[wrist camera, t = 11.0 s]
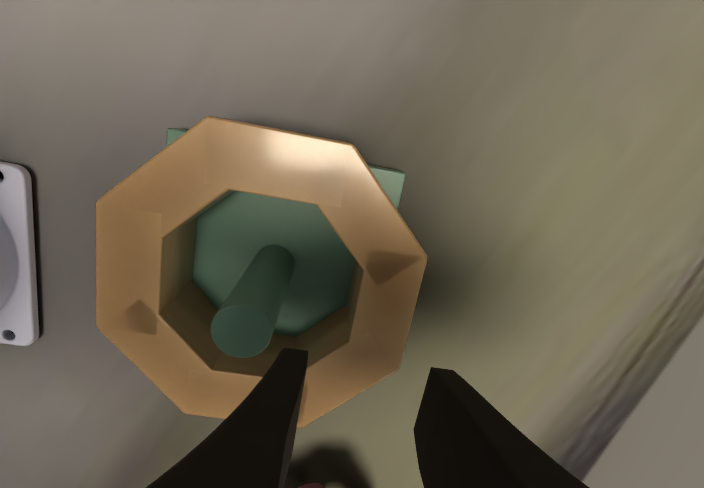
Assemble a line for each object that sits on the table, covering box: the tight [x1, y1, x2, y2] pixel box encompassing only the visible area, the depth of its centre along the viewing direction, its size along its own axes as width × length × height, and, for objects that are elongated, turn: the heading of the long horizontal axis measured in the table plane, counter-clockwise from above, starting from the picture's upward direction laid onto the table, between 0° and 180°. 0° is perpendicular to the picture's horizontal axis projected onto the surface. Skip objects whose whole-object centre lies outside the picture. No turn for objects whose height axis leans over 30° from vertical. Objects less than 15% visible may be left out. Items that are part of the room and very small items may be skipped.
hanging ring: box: [96, 116, 428, 428], centre depth 14 cm, size 10×10×3 cm
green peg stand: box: [166, 128, 406, 358], centre depth 13 cm, size 9×9×7 cm
